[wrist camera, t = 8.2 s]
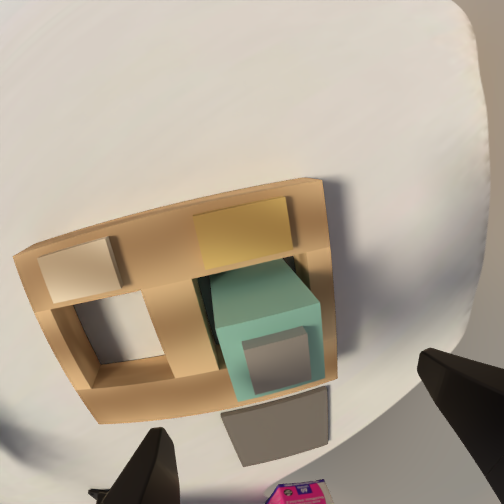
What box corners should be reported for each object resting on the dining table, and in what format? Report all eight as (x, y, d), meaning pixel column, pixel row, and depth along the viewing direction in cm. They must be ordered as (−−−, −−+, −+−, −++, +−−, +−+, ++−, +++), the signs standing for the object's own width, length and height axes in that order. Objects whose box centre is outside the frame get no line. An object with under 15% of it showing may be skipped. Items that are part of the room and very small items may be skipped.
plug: (289, 316, 18) (330, 386, 12) (224, 332, 17) (239, 411, 11) (279, 255, 17) (325, 309, 10) (209, 272, 16) (216, 337, 10)
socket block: (323, 356, 19) (340, 383, 16) (105, 400, 17) (97, 429, 15) (304, 177, 15) (326, 180, 13) (34, 243, 14) (8, 259, 11)
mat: (326, 441, 23) (328, 444, 22) (242, 463, 22) (243, 467, 21) (324, 385, 20) (327, 389, 20) (220, 413, 19) (221, 417, 19)
